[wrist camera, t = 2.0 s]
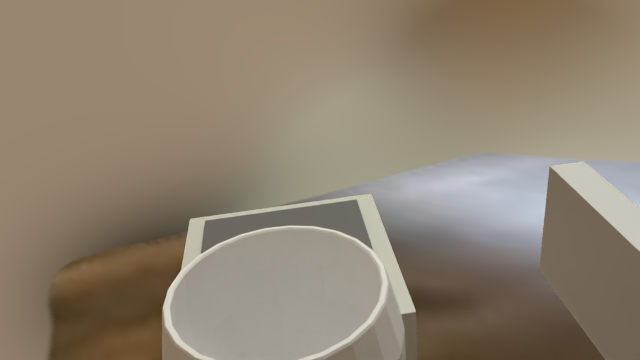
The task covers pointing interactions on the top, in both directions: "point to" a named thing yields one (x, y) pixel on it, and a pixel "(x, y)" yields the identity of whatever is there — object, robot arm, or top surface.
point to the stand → (335, 214)
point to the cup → (284, 300)
